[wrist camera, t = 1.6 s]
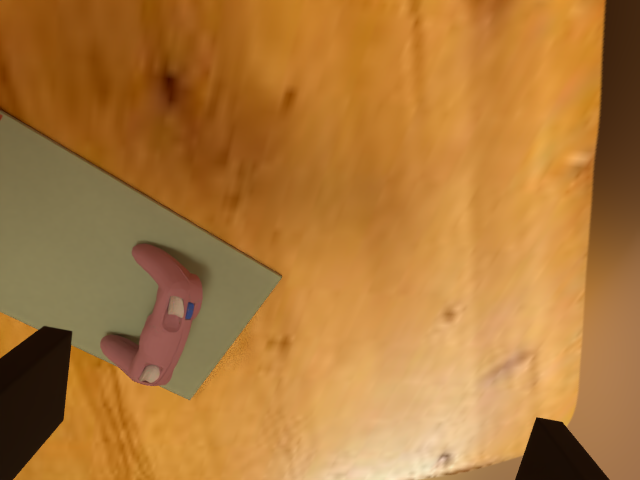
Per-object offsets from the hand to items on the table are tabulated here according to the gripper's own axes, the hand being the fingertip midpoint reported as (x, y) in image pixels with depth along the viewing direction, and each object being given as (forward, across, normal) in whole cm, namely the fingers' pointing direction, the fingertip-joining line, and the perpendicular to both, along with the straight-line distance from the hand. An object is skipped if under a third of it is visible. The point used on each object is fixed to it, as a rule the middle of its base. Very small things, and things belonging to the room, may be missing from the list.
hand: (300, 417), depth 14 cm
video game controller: (+25, -11, -8) cm, 28 cm away
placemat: (+23, -20, -4) cm, 31 cm away
